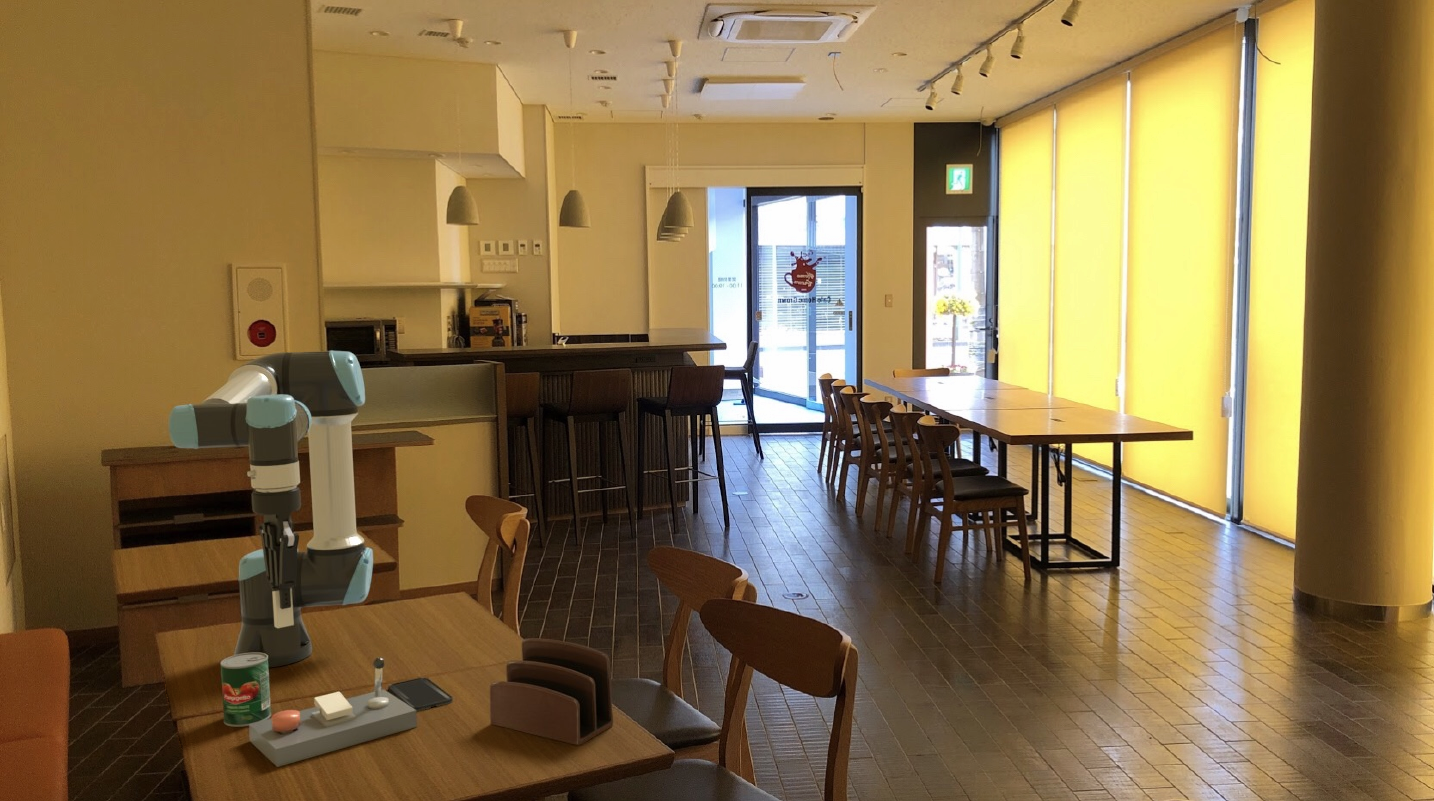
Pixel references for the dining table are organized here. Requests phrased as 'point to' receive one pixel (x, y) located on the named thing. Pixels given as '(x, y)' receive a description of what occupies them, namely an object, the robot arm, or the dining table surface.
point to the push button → (286, 721)
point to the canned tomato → (245, 689)
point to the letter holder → (555, 692)
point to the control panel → (334, 729)
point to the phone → (420, 693)
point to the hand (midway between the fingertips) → (284, 625)
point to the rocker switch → (333, 705)
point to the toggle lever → (378, 675)
